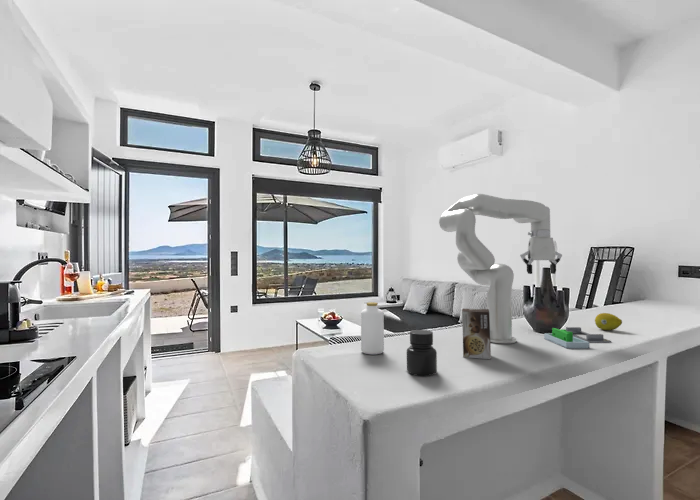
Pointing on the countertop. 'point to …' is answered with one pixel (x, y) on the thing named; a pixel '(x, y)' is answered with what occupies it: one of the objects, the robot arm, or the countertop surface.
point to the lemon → (607, 321)
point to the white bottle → (372, 329)
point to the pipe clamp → (562, 334)
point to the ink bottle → (421, 354)
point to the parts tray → (575, 344)
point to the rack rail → (587, 335)
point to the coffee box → (476, 333)
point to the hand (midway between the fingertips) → (541, 273)
